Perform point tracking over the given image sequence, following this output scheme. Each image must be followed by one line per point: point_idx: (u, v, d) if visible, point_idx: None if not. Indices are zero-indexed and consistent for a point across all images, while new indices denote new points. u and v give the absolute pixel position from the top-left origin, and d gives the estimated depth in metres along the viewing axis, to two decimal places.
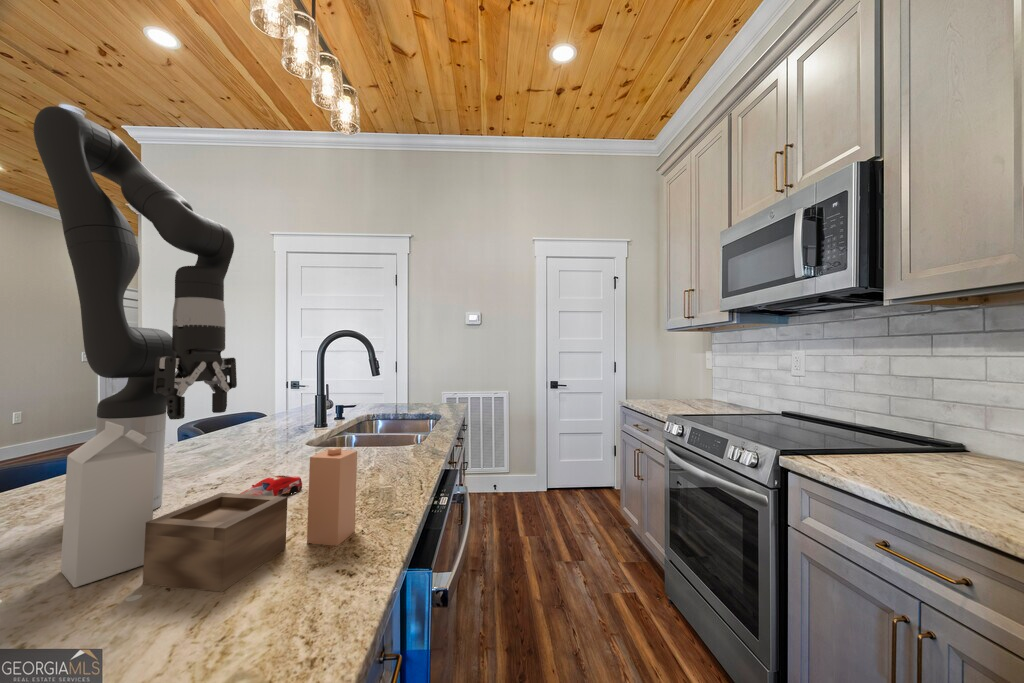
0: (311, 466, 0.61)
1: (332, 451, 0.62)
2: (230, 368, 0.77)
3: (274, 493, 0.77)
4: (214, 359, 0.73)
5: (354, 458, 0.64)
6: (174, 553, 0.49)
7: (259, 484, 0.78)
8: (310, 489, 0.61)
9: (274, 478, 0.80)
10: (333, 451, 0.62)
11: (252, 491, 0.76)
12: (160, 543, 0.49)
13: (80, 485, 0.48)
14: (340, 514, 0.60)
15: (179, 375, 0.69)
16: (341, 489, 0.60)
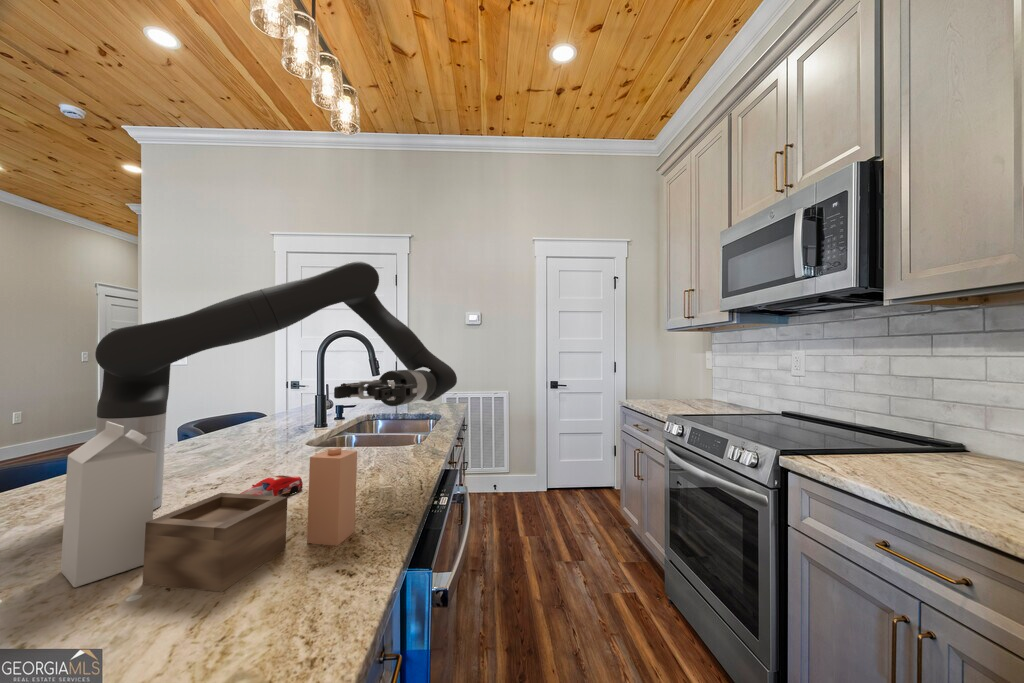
0: (311, 466, 0.61)
1: (332, 451, 0.62)
2: (357, 394, 0.81)
3: (274, 493, 0.77)
4: None
5: (354, 458, 0.64)
6: (174, 553, 0.49)
7: (259, 484, 0.78)
8: (310, 489, 0.61)
9: (274, 478, 0.80)
10: (333, 451, 0.62)
11: (252, 491, 0.76)
12: (160, 543, 0.49)
13: (80, 485, 0.48)
14: (340, 514, 0.60)
15: None
16: (341, 489, 0.60)
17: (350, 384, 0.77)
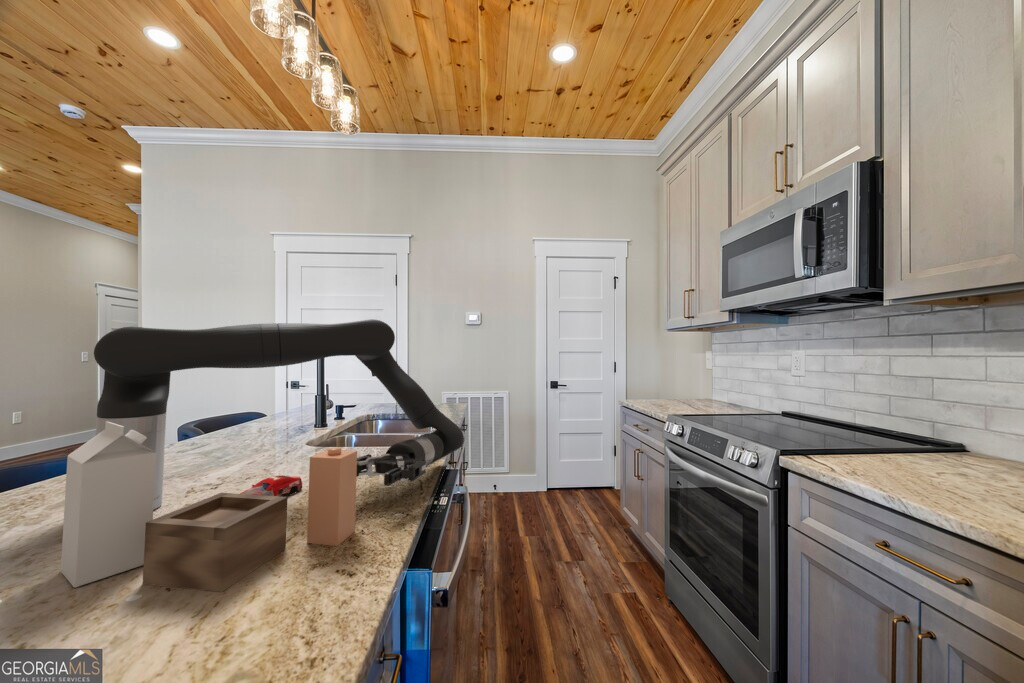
0: (311, 466, 0.61)
1: (332, 451, 0.62)
2: (365, 468, 0.80)
3: (274, 493, 0.77)
4: None
5: (354, 458, 0.64)
6: (174, 553, 0.49)
7: (259, 484, 0.78)
8: (310, 489, 0.61)
9: (274, 478, 0.80)
10: (333, 451, 0.62)
11: (252, 491, 0.76)
12: (160, 543, 0.49)
13: (80, 485, 0.48)
14: (340, 514, 0.60)
15: None
16: (341, 489, 0.60)
17: (358, 462, 0.76)
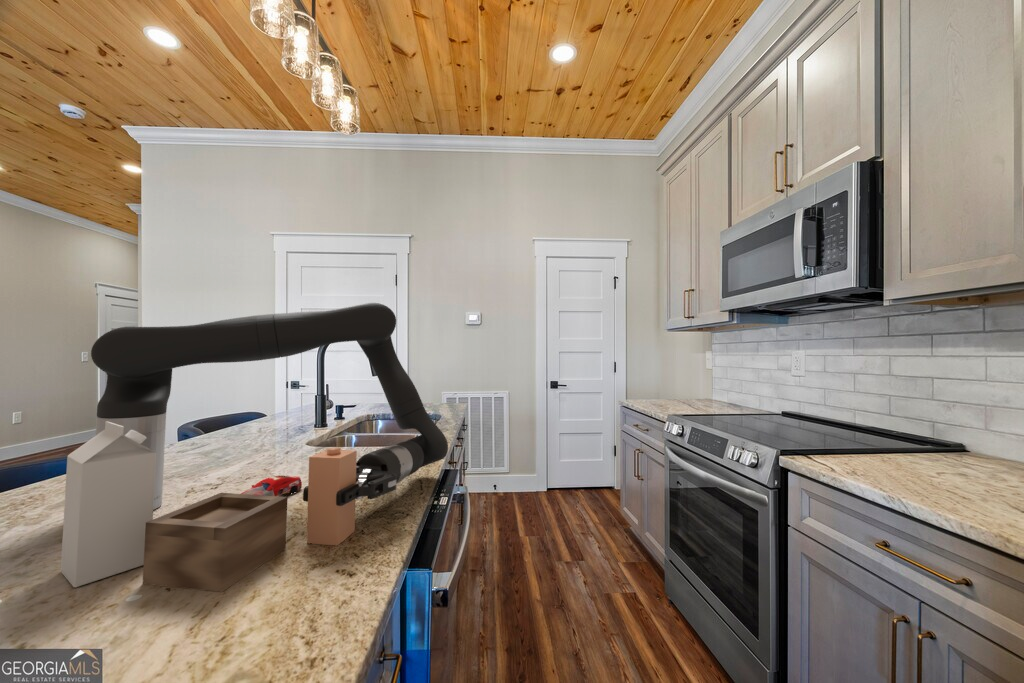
0: (310, 466, 0.61)
1: (331, 451, 0.62)
2: None
3: (275, 493, 0.77)
4: None
5: (353, 458, 0.64)
6: (174, 553, 0.49)
7: (259, 484, 0.78)
8: (309, 489, 0.61)
9: (274, 478, 0.80)
10: (332, 451, 0.62)
11: (252, 491, 0.76)
12: (160, 543, 0.49)
13: (80, 485, 0.48)
14: (340, 514, 0.60)
15: None
16: (340, 489, 0.60)
17: None
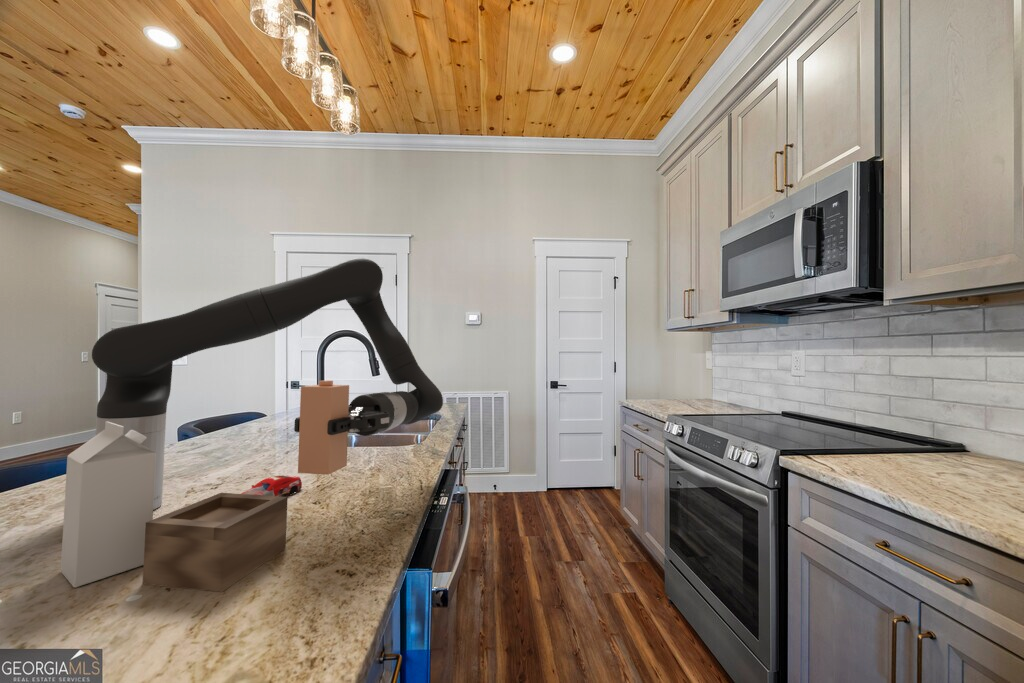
0: (302, 396, 0.60)
1: (323, 382, 0.62)
2: None
3: (275, 493, 0.77)
4: None
5: (346, 391, 0.64)
6: (174, 553, 0.49)
7: (259, 484, 0.78)
8: (301, 419, 0.60)
9: (274, 478, 0.80)
10: (324, 382, 0.62)
11: (252, 491, 0.75)
12: (160, 543, 0.49)
13: (80, 485, 0.48)
14: (332, 443, 0.60)
15: None
16: (332, 418, 0.60)
17: None
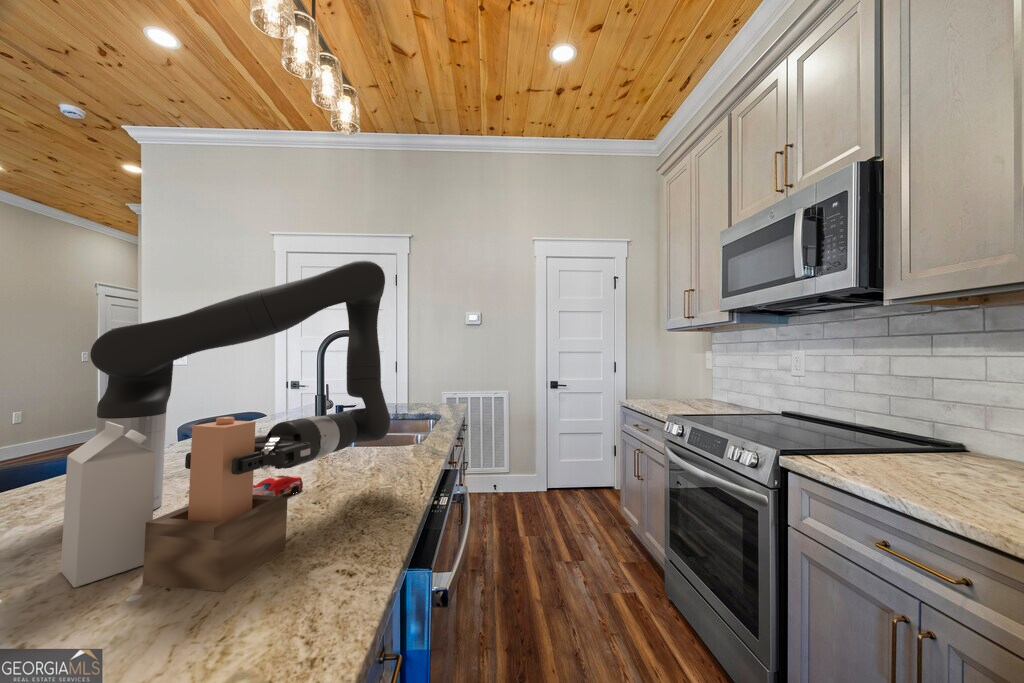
0: (193, 436, 0.53)
1: (220, 420, 0.54)
2: None
3: (276, 493, 0.77)
4: None
5: (250, 429, 0.56)
6: (174, 553, 0.49)
7: (260, 484, 0.77)
8: (192, 463, 0.52)
9: (275, 478, 0.80)
10: (221, 420, 0.54)
11: (253, 491, 0.75)
12: (160, 543, 0.49)
13: (80, 485, 0.48)
14: (225, 492, 0.52)
15: None
16: (226, 463, 0.52)
17: None
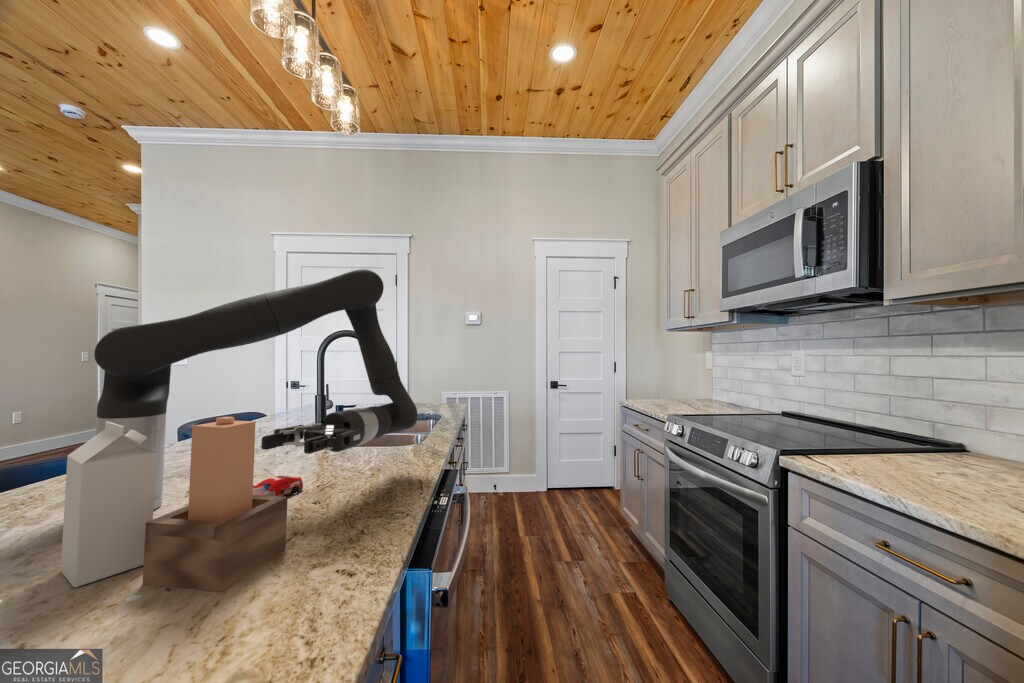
0: (193, 436, 0.53)
1: (220, 420, 0.54)
2: None
3: (276, 493, 0.77)
4: None
5: (250, 429, 0.56)
6: (174, 553, 0.49)
7: (260, 485, 0.77)
8: (192, 463, 0.52)
9: (275, 478, 0.79)
10: (221, 420, 0.54)
11: (253, 492, 0.75)
12: (160, 543, 0.49)
13: (80, 485, 0.48)
14: (225, 492, 0.52)
15: None
16: (226, 463, 0.52)
17: (284, 431, 0.69)
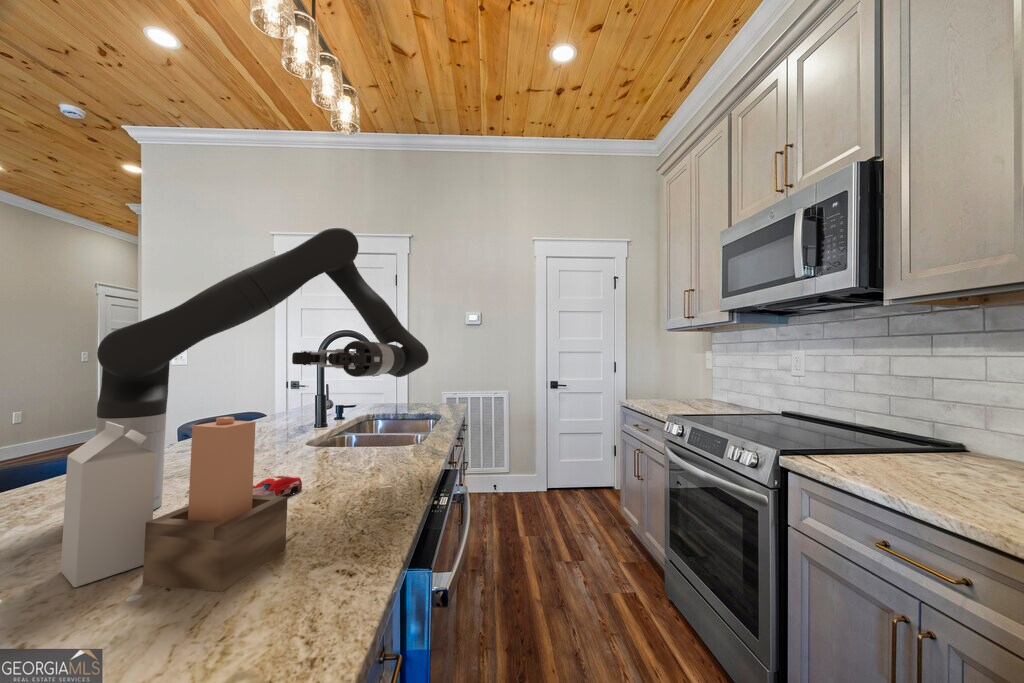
0: (193, 436, 0.53)
1: (220, 420, 0.54)
2: None
3: (276, 493, 0.77)
4: None
5: (250, 429, 0.56)
6: (174, 553, 0.49)
7: (260, 485, 0.77)
8: (192, 463, 0.52)
9: (275, 479, 0.79)
10: (221, 420, 0.54)
11: (254, 492, 0.75)
12: (160, 543, 0.49)
13: (80, 485, 0.48)
14: (225, 492, 0.52)
15: None
16: (226, 463, 0.52)
17: (311, 351, 0.76)
